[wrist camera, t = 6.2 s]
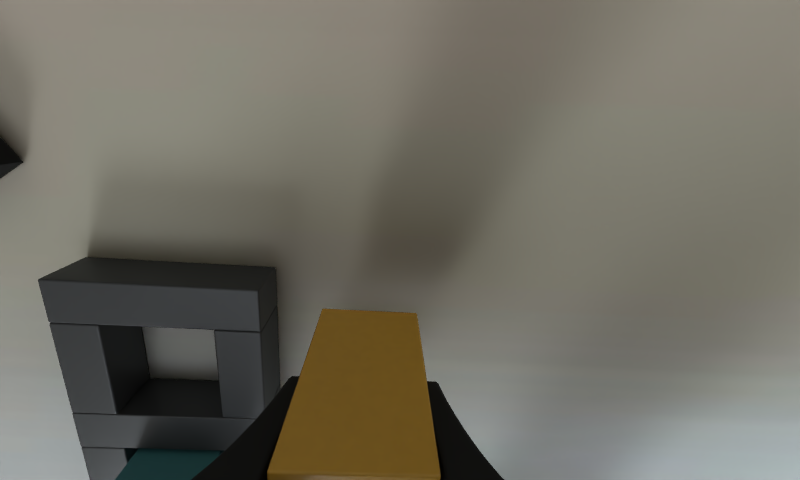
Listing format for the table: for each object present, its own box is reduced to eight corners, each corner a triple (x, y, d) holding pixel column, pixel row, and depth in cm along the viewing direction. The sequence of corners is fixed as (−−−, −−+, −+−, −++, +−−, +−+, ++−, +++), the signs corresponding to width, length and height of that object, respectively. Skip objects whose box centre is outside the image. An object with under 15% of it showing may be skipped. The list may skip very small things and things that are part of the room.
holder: (284, 500, 22) (272, 546, 20) (136, 498, 22) (106, 544, 19) (276, 266, 17) (258, 290, 15) (85, 256, 17) (36, 279, 15)
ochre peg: (409, 389, 17) (425, 588, 10) (321, 386, 17) (272, 586, 10) (417, 312, 16) (441, 476, 8) (322, 307, 15) (265, 472, 8)
